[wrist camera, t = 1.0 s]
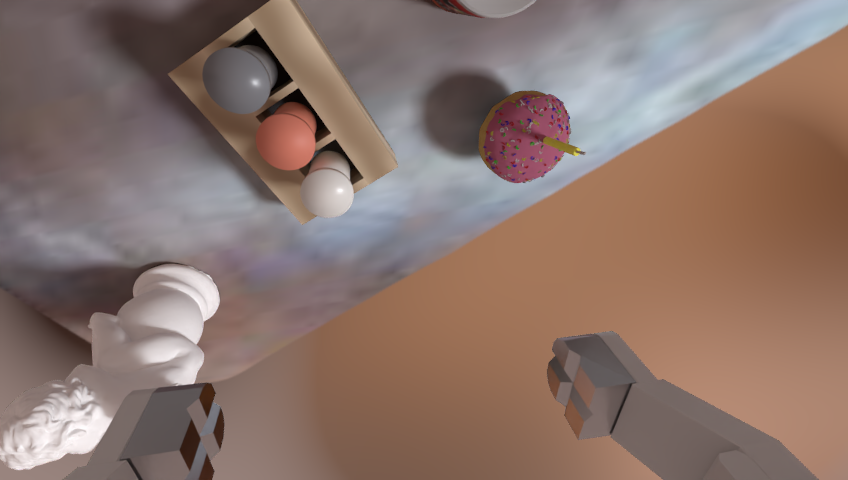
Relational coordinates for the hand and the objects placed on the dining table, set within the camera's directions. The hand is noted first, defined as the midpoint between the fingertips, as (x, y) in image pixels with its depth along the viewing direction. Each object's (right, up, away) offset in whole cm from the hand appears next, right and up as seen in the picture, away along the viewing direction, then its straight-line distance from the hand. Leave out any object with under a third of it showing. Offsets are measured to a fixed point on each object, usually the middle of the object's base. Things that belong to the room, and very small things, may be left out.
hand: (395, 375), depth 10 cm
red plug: (-10, +13, +24) cm, 30 cm away
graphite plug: (-13, +17, +22) cm, 31 cm away
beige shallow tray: (-11, +15, +27) cm, 33 cm away
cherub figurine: (-26, -2, +35) cm, 44 cm away
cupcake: (+9, +15, +31) cm, 36 cm away
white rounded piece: (-8, +10, +27) cm, 30 cm away
